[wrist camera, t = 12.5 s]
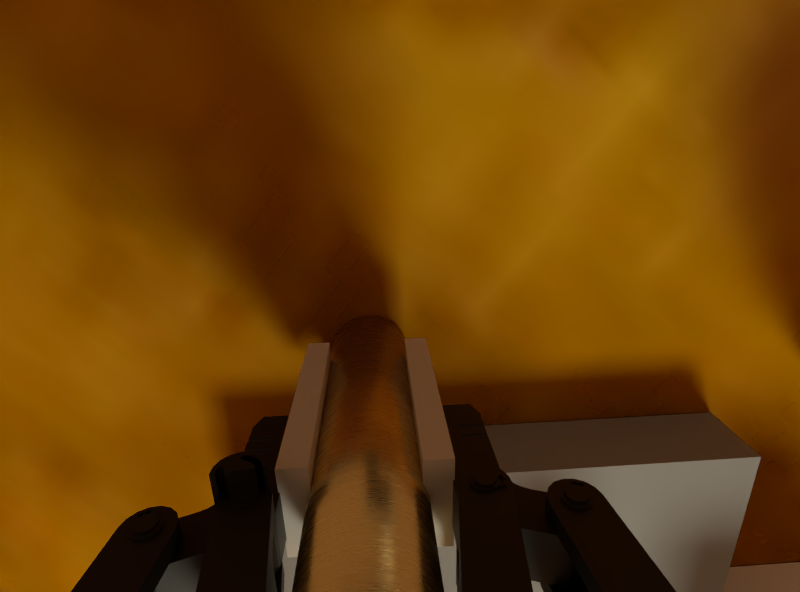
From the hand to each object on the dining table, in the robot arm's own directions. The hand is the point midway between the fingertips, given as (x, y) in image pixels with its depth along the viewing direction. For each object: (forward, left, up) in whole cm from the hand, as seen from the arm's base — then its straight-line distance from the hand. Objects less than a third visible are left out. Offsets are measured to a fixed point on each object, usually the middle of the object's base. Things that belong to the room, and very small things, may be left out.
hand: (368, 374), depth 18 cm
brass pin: (0, 0, -2) cm, 2 cm away
